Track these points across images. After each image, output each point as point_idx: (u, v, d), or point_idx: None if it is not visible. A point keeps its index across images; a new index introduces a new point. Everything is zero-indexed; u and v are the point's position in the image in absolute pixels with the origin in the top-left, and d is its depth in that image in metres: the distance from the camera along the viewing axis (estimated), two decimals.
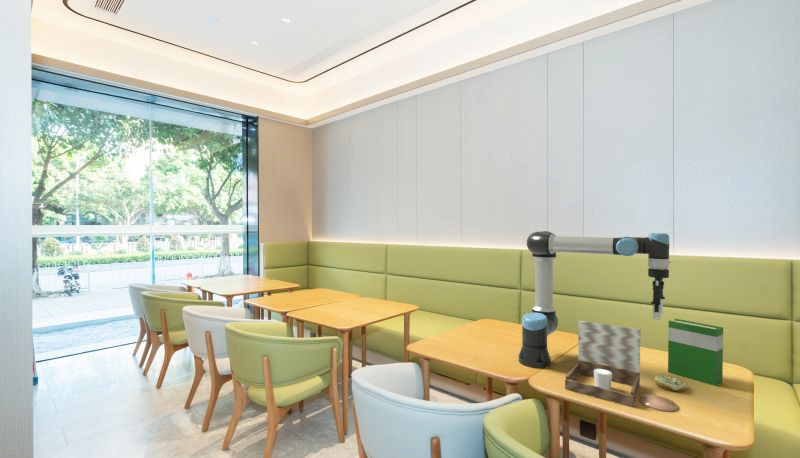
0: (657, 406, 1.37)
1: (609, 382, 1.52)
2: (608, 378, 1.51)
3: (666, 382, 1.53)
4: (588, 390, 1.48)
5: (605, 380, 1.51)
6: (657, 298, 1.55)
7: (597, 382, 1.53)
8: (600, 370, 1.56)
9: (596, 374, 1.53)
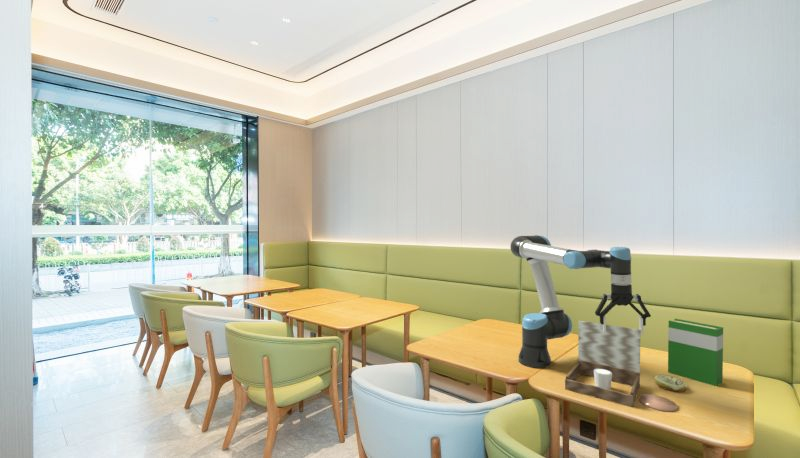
0: (657, 406, 1.37)
1: (609, 382, 1.52)
2: (608, 378, 1.51)
3: (666, 382, 1.53)
4: (588, 390, 1.48)
5: (605, 380, 1.51)
6: (597, 310, 1.60)
7: (597, 382, 1.53)
8: (600, 370, 1.56)
9: (596, 374, 1.53)
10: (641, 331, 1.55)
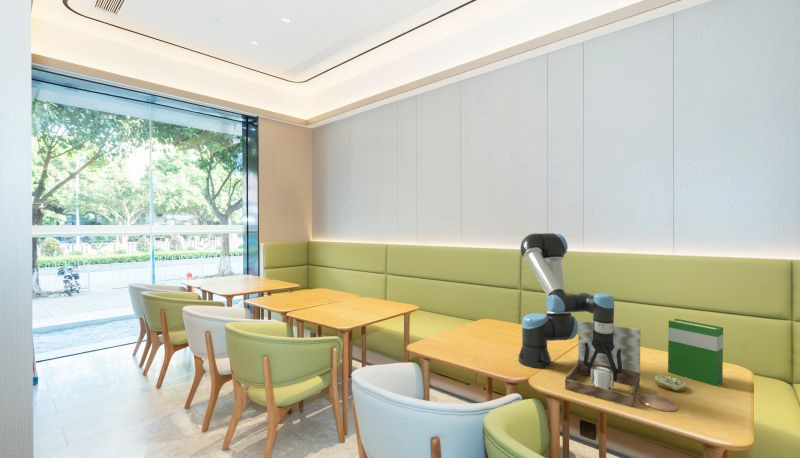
0: (657, 406, 1.37)
1: (608, 380, 1.52)
2: (607, 377, 1.52)
3: (666, 382, 1.53)
4: (588, 390, 1.48)
5: (605, 378, 1.52)
6: (584, 359, 1.58)
7: (596, 380, 1.54)
8: (600, 368, 1.56)
9: (596, 372, 1.54)
10: (611, 386, 1.51)
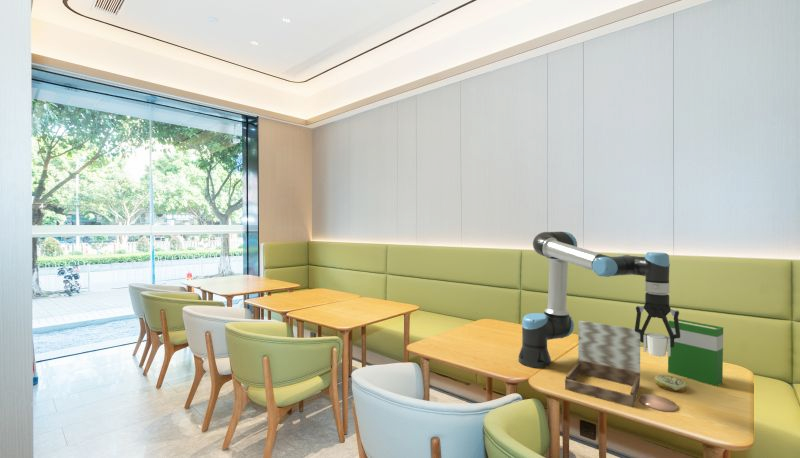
0: (657, 406, 1.37)
1: (665, 347, 1.38)
2: (663, 342, 1.38)
3: (666, 382, 1.53)
4: (588, 390, 1.48)
5: (661, 344, 1.38)
6: None
7: (651, 347, 1.40)
8: (653, 334, 1.42)
9: (650, 338, 1.40)
10: (668, 353, 1.38)
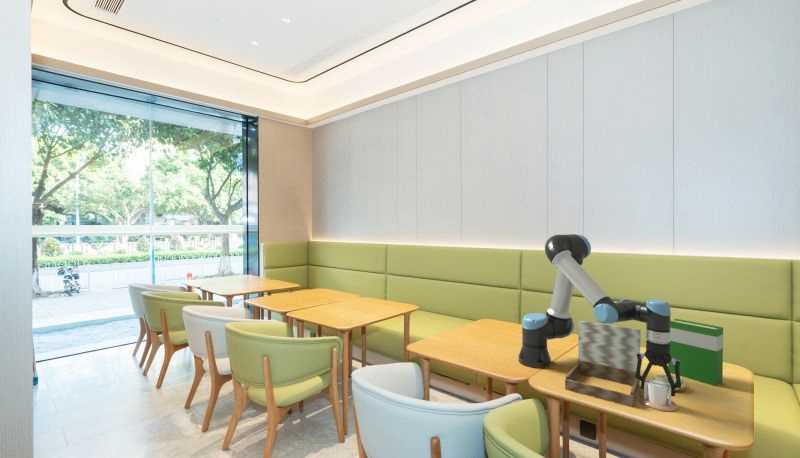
0: (657, 406, 1.37)
1: (666, 395, 1.38)
2: (664, 391, 1.38)
3: (666, 382, 1.53)
4: (588, 390, 1.48)
5: (661, 393, 1.38)
6: (636, 372, 1.45)
7: (652, 395, 1.40)
8: (654, 382, 1.42)
9: (651, 386, 1.40)
10: (668, 402, 1.38)
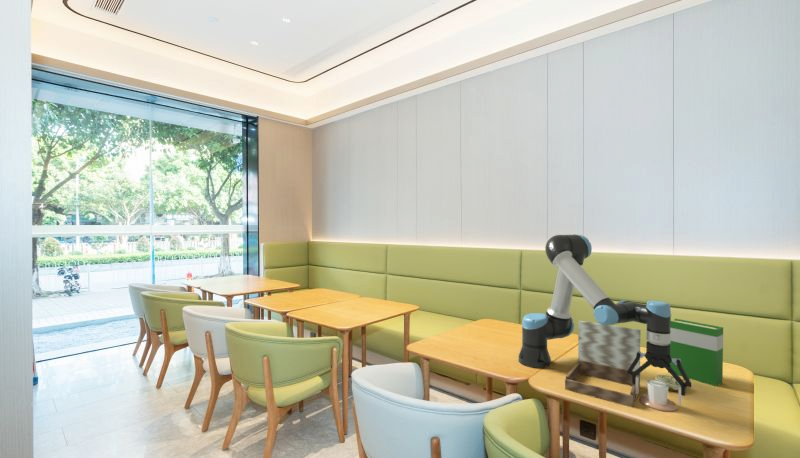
0: (657, 406, 1.37)
1: (666, 395, 1.38)
2: (664, 391, 1.38)
3: (666, 382, 1.53)
4: (588, 390, 1.48)
5: (661, 393, 1.38)
6: (629, 367, 1.46)
7: (652, 395, 1.40)
8: (654, 382, 1.42)
9: (651, 386, 1.40)
10: (678, 401, 1.36)
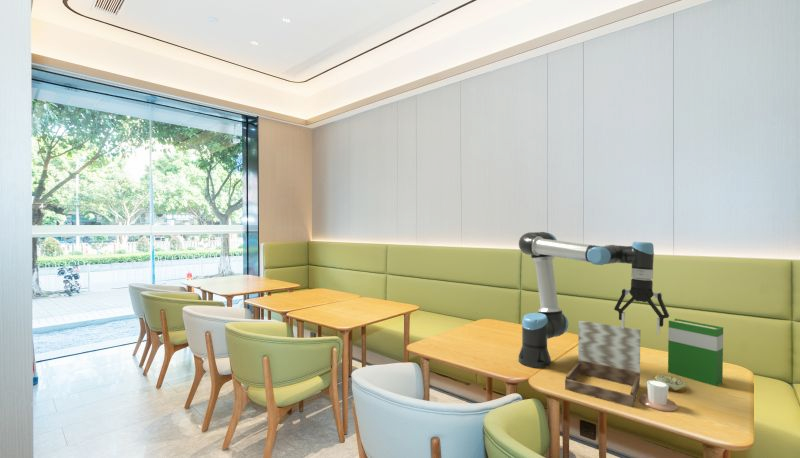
0: (657, 406, 1.37)
1: (666, 395, 1.38)
2: (664, 391, 1.38)
3: (666, 382, 1.53)
4: (588, 390, 1.48)
5: (661, 393, 1.38)
6: (616, 305, 1.59)
7: (652, 395, 1.40)
8: (654, 382, 1.42)
9: (651, 386, 1.40)
10: (657, 331, 1.49)
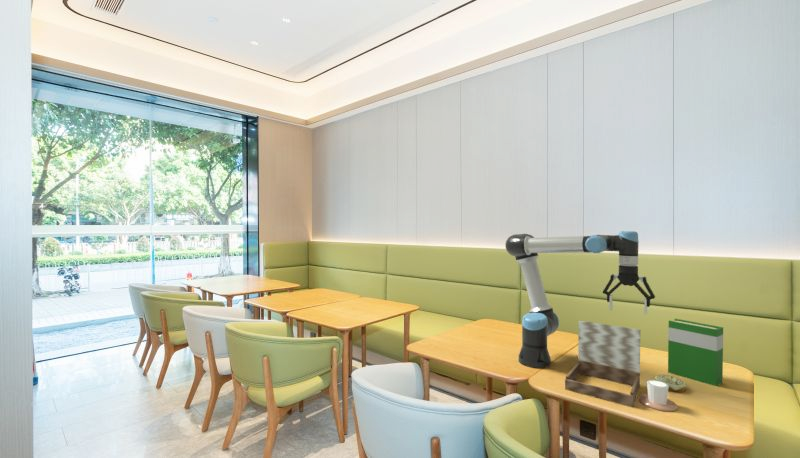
0: (657, 406, 1.37)
1: (666, 395, 1.38)
2: (664, 391, 1.38)
3: (666, 382, 1.53)
4: (588, 390, 1.48)
5: (661, 393, 1.38)
6: None
7: (652, 395, 1.40)
8: (654, 382, 1.42)
9: (651, 386, 1.40)
10: (644, 311, 1.63)
